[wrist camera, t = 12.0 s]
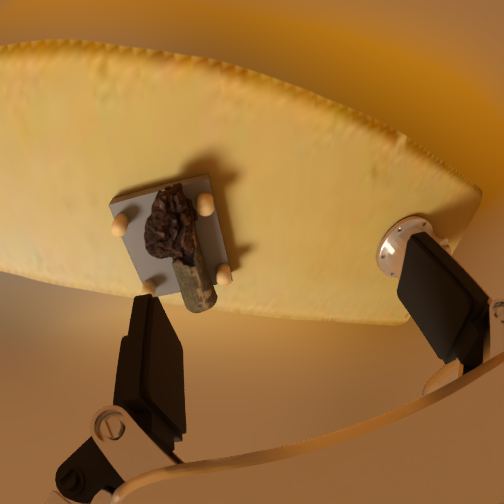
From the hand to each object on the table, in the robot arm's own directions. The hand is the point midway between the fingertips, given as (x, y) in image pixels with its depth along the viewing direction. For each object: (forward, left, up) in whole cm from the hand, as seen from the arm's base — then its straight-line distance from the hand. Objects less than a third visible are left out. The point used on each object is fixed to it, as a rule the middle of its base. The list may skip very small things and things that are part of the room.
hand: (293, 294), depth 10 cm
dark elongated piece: (+9, +13, -26) cm, 31 cm away
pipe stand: (+10, +13, -28) cm, 33 cm away
